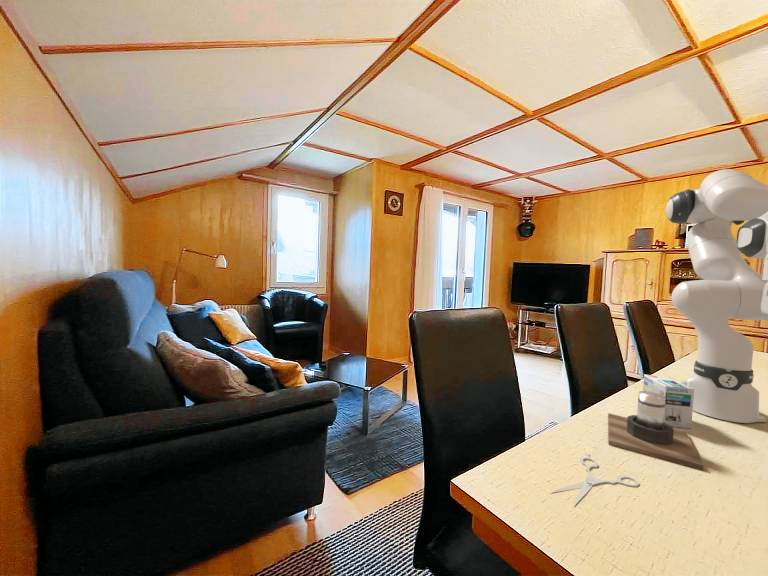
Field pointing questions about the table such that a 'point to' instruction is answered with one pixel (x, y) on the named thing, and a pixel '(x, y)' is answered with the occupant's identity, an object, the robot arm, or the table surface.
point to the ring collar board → (652, 440)
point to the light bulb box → (672, 399)
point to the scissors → (593, 480)
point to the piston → (651, 410)
